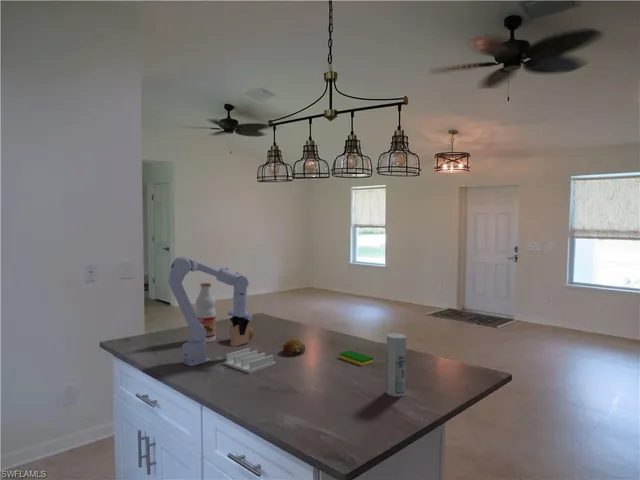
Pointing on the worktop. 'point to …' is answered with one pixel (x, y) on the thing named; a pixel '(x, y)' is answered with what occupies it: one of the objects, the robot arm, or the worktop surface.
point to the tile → (239, 336)
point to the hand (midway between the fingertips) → (240, 334)
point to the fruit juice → (207, 311)
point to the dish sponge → (356, 358)
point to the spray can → (396, 364)
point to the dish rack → (248, 360)
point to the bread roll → (294, 347)
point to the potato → (249, 332)
